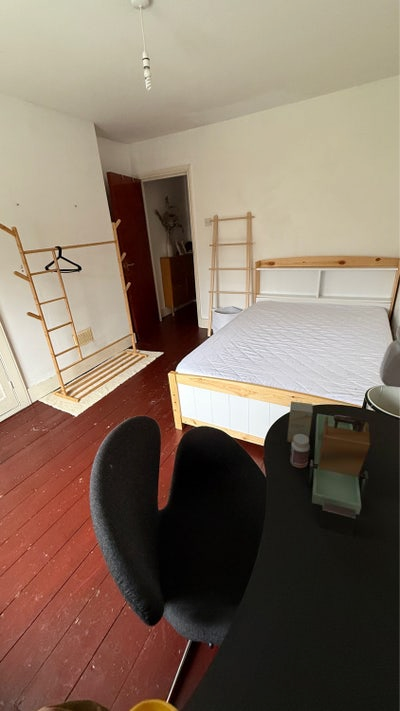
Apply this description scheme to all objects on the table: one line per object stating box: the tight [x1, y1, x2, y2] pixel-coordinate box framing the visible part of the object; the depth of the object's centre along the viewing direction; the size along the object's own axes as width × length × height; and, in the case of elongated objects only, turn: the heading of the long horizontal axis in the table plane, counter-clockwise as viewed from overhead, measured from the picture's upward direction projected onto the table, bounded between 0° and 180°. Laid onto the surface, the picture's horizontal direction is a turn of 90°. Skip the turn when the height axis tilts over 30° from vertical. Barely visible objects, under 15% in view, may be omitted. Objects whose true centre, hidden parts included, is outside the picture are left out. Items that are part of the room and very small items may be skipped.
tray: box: [311, 413, 362, 516], centre depth 82 cm, size 32×10×3 cm, turn 159°
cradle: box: [307, 459, 369, 537], centre depth 68 cm, size 12×12×7 cm
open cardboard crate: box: [319, 414, 371, 478], centre depth 67 cm, size 17×9×6 cm
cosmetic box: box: [286, 400, 314, 443], centre depth 88 cm, size 6×4×12 cm
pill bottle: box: [289, 434, 311, 469], centre depth 81 cm, size 5×5×8 cm
